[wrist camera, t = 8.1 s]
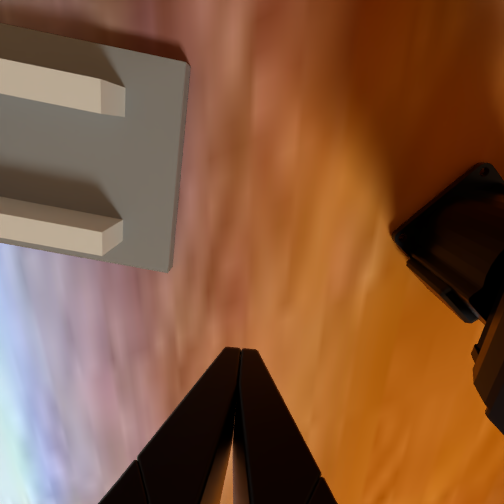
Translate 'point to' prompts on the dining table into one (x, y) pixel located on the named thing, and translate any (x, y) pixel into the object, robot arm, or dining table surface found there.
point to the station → (90, 148)
